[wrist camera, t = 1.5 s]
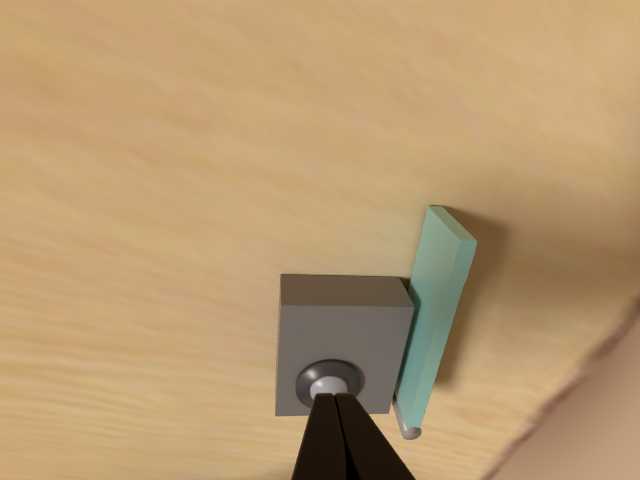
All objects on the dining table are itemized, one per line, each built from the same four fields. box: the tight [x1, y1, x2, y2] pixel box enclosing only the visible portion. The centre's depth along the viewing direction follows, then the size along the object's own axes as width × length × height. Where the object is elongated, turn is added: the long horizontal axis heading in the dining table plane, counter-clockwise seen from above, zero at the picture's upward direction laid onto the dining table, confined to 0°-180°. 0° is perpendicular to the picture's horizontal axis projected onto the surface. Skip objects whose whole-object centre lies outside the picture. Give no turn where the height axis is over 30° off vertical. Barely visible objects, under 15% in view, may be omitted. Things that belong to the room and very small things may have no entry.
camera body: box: [275, 274, 415, 416], centre depth 19 cm, size 7×6×3 cm
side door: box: [392, 206, 477, 440], centre depth 18 cm, size 12×1×4 cm, turn 175°
